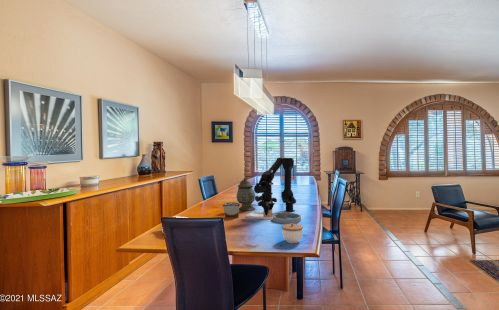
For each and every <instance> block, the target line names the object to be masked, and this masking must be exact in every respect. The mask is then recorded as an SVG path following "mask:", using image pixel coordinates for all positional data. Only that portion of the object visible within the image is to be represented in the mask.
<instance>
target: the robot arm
mask: <svg viewBox="0 0 499 310" xmlns="http://www.w3.org/2000/svg"><path fill="white" fill-rule="evenodd" d="M294 165H295V160H294V159H293V158H292V157H277V158H276V160H275V161H274V163H273V164H271V167H269V169H267V170H265V171H263V173H262V174H261V177H260V178H259V180H258V182H256V184H255V185H254V186H253V190H254V193H255V194H257V195H255V199H254V201H255V202H256V203H257V207H261V208H262V209H263V211H264V212H265V215H267V214H268V211H269V210H272V211H273V207H274V206H275V205H276V203H277V201H278V199H277V198H276V197H273V196H272V195H273V191H272V187H273V185H274V182H273V180H274V178H275V175H276V174H277V172H278V170H279V169H280V168H281V166H282V167H283V169H284V172H283V173H284V175H283V176H284V180H283V182H284V185H283V187H284V188H283V190H282V191H281V193H280V194H281V196H280V198H281V200H282V203H283V204H284V205H285V210H283V212H287V213H295V211H296V210H295V209H294V205H295V204H296V203H297V199H296V198H295V197H294V192H293V190H292V169H293V168H294ZM258 194H261V195H258Z"/></svg>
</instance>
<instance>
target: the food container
mask: <svg viewBox="0 0 499 310" xmlns="http://www.w3.org/2000/svg"><path fill="white" fill-rule="evenodd" d="M222 207H223V212H224V213H223V214H224V219H225V218H226V219H227V218H228V219H229V218H233V219H234V218H235V219H236V218H239V216H240V211H239V208H240V207H241V204H240V203H239V202H238V201H237V202H235V201H228V202H225V203H224V202H223V204H222Z"/></svg>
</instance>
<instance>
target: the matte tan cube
mask: <svg viewBox="0 0 499 310" xmlns="http://www.w3.org/2000/svg"><path fill="white" fill-rule="evenodd" d="M272 213H273V209H272V210H269V211H268V214H267V215H265V212H264V210H263V215H264V217H268V218H270V217H272Z"/></svg>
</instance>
